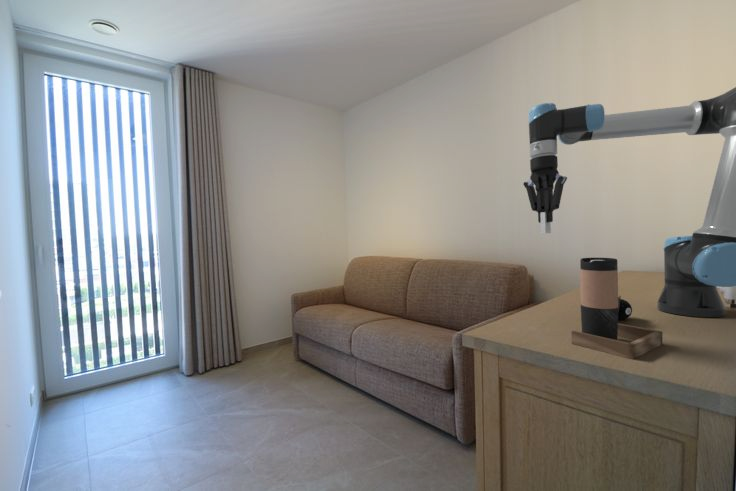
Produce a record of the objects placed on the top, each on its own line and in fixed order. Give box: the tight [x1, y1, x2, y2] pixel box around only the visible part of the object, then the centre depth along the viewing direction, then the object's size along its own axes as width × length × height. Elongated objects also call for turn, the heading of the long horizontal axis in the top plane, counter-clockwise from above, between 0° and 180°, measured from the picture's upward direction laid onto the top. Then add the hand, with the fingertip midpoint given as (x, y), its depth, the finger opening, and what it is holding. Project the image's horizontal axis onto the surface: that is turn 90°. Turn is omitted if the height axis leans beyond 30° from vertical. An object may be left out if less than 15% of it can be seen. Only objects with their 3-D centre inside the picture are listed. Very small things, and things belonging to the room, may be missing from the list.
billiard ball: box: [618, 298, 633, 321], centre depth 101 cm, size 6×6×6 cm
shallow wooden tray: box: [571, 322, 663, 360], centre depth 81 cm, size 15×12×3 cm
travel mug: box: [579, 257, 619, 340], centre depth 84 cm, size 8×8×20 cm
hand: (545, 233), depth 107 cm, fingers closed
